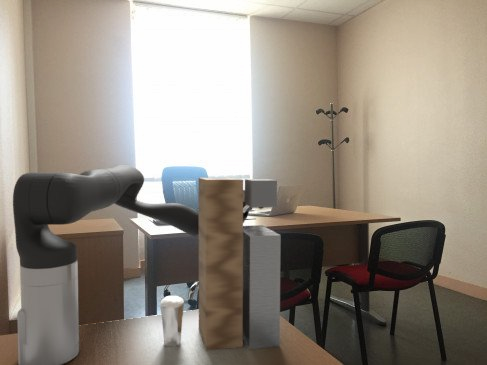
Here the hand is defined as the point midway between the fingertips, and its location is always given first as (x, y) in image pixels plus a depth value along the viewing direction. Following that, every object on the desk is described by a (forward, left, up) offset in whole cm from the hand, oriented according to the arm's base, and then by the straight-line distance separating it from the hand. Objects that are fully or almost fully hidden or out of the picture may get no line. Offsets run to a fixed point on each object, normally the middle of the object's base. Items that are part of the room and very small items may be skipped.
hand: (245, 187), depth 88 cm
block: (0, -5, -3) cm, 5 cm away
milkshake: (-17, -9, -30) cm, 35 cm away
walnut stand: (-8, -8, -30) cm, 32 cm away
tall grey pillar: (0, -9, -30) cm, 31 cm away
